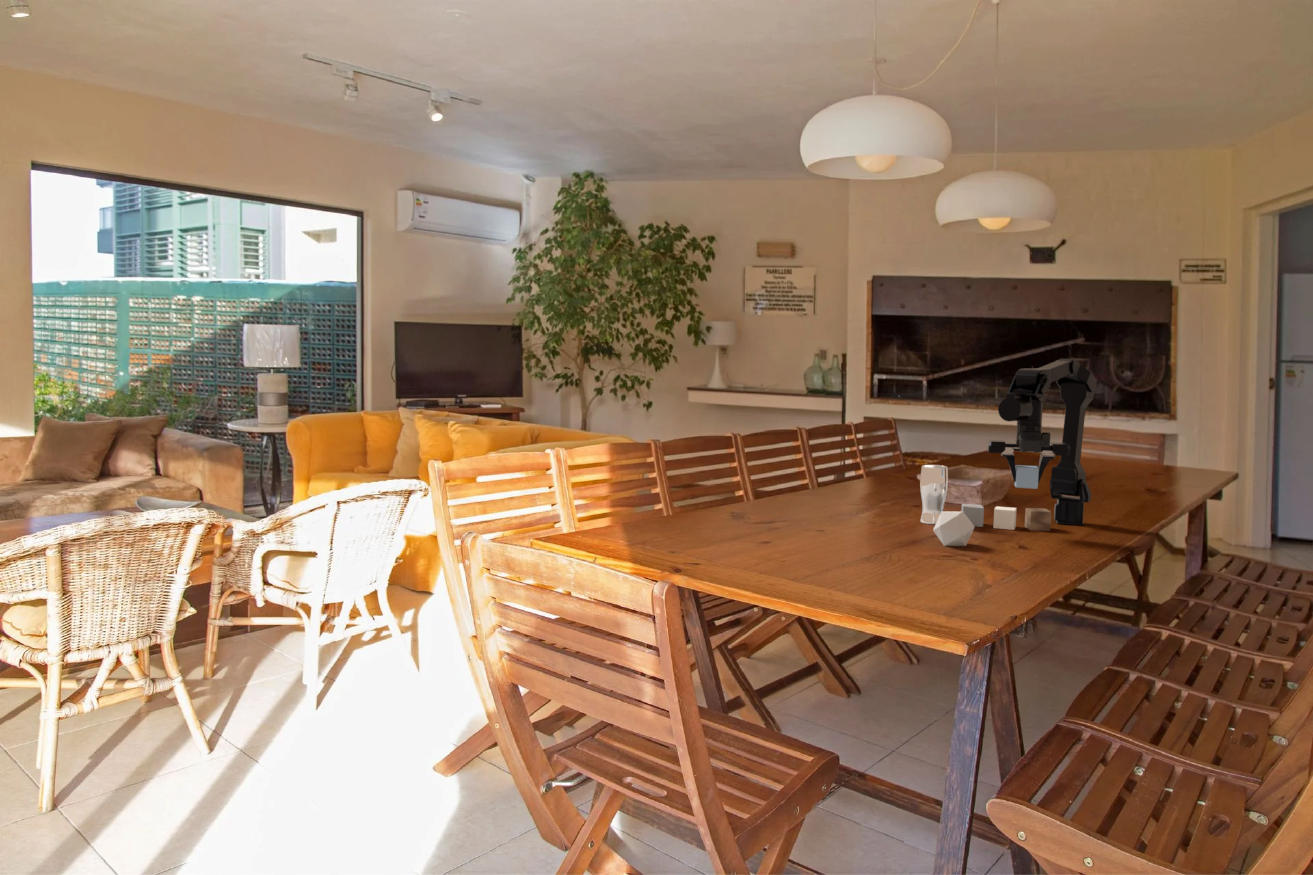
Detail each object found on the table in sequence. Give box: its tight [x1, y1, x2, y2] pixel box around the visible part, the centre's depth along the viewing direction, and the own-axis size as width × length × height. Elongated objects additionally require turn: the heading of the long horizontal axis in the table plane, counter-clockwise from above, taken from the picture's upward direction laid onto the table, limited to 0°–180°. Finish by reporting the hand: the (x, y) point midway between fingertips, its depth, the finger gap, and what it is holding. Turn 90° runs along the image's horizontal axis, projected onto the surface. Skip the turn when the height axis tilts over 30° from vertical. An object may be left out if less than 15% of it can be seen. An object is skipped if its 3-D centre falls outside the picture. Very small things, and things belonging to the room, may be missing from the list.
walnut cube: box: [1024, 507, 1052, 532], centre depth 244 cm, size 5×5×5 cm
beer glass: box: [919, 464, 949, 526], centre depth 250 cm, size 7×7×15 cm
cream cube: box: [992, 505, 1017, 531], centre depth 245 cm, size 5×5×5 cm
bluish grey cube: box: [1014, 464, 1039, 490], centre depth 235 cm, size 5×5×5 cm
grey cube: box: [961, 503, 985, 528], centre depth 248 cm, size 5×5×5 cm
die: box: [932, 510, 975, 547], centre depth 222 cm, size 8×9×10 cm
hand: (1026, 482), depth 235 cm, fingers closed on bluish grey cube, 5 cm apart
